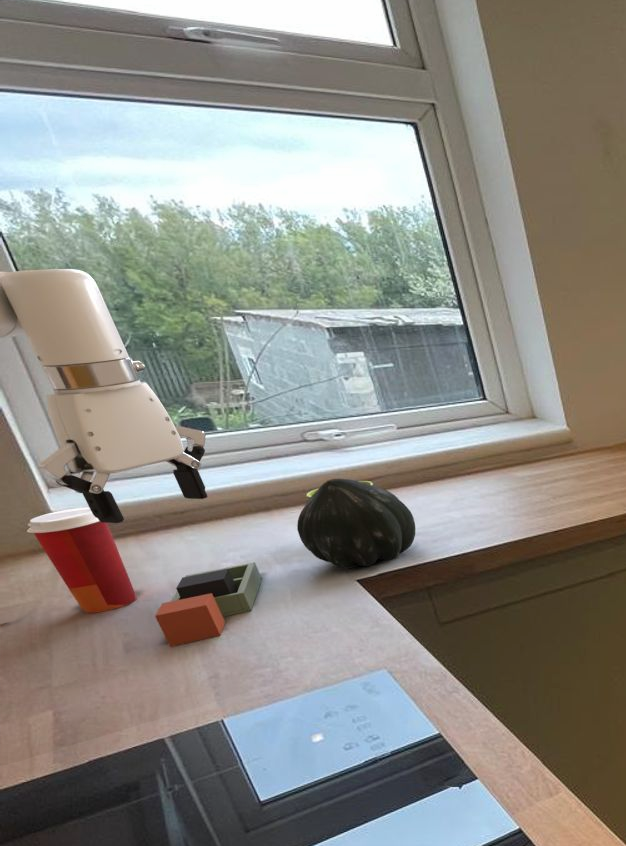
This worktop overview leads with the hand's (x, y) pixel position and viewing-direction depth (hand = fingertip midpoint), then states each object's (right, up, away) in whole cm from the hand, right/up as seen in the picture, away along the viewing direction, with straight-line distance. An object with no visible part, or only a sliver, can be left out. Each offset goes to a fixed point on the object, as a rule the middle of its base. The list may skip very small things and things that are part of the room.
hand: (156, 509), depth 106 cm
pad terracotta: (+3, -17, +3) cm, 17 cm away
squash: (+7, -6, +27) cm, 29 cm away
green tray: (-4, -12, +13) cm, 18 cm away
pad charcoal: (-2, -13, +10) cm, 17 cm away
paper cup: (-21, -13, +13) cm, 28 cm away
